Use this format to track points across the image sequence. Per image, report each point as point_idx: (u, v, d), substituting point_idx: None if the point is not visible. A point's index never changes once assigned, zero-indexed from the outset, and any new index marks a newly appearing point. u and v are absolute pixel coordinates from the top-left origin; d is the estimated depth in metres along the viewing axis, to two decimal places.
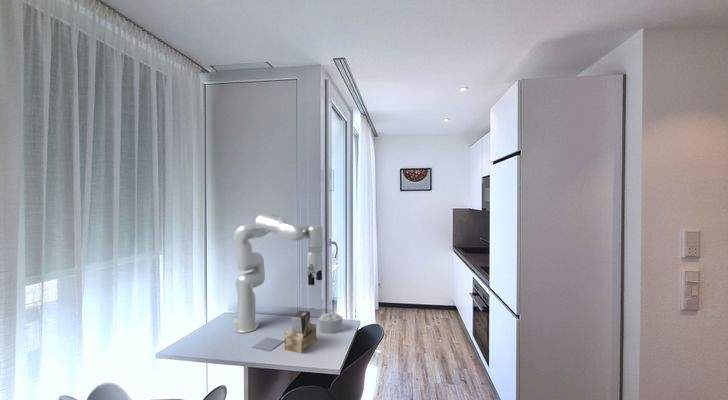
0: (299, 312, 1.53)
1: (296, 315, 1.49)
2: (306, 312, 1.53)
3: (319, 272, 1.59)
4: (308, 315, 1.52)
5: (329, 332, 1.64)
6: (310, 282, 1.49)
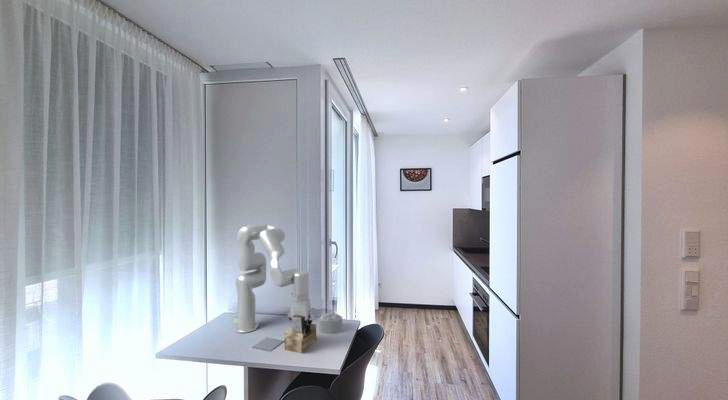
0: None
1: None
2: None
3: None
4: None
5: (329, 332, 1.64)
6: (309, 329, 1.49)
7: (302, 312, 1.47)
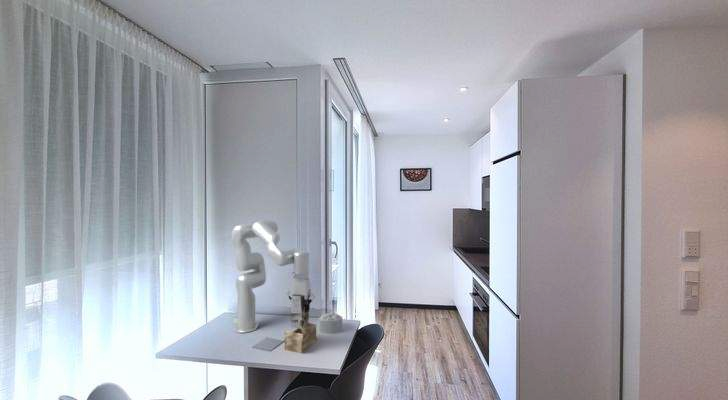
0: None
1: None
2: None
3: None
4: None
5: (329, 332, 1.64)
6: (308, 309, 1.49)
7: (302, 291, 1.47)
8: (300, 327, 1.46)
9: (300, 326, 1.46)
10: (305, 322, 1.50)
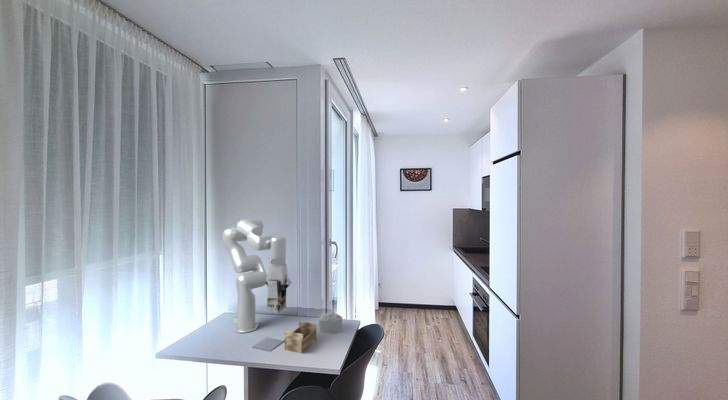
0: None
1: None
2: None
3: None
4: None
5: (329, 332, 1.64)
6: (285, 294, 1.50)
7: (278, 276, 1.48)
8: (276, 312, 1.47)
9: (276, 311, 1.47)
10: (282, 307, 1.51)
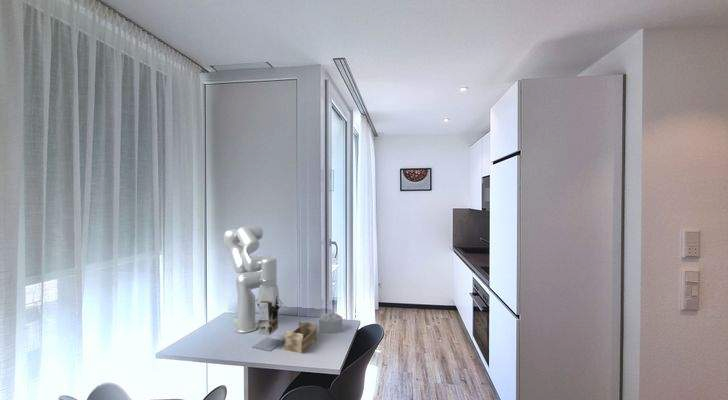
0: None
1: (263, 301, 1.49)
2: None
3: None
4: None
5: (329, 332, 1.64)
6: (276, 315, 1.50)
7: (269, 298, 1.48)
8: (268, 334, 1.46)
9: (268, 333, 1.46)
10: (274, 328, 1.51)
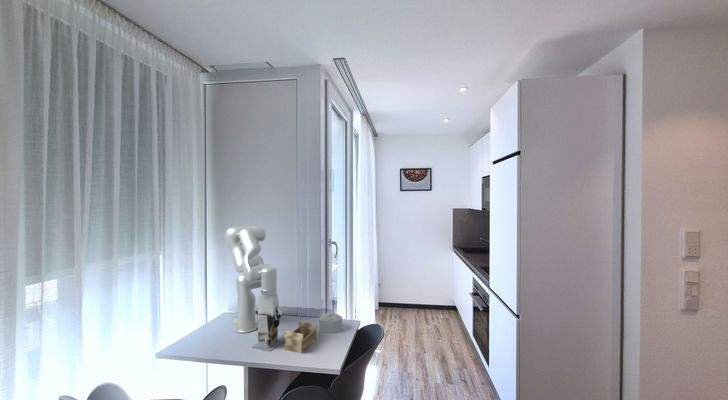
0: None
1: None
2: None
3: None
4: None
5: (329, 332, 1.64)
6: (278, 324, 1.49)
7: (269, 307, 1.48)
8: (267, 346, 1.47)
9: (267, 345, 1.47)
10: (273, 340, 1.51)
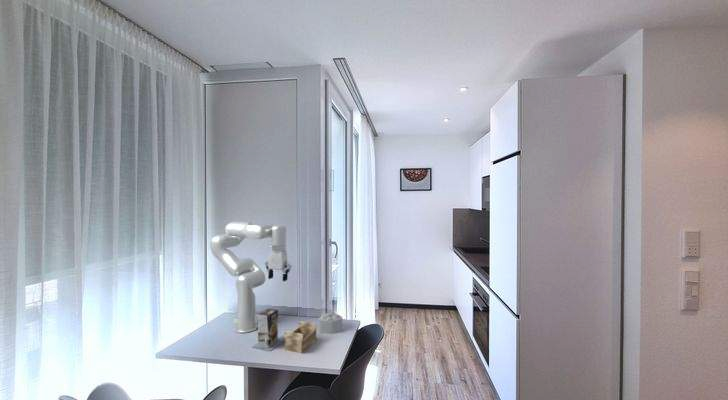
0: (267, 310, 1.54)
1: (263, 313, 1.50)
2: (274, 310, 1.54)
3: (271, 270, 1.63)
4: (276, 313, 1.53)
5: (329, 332, 1.64)
6: (286, 278, 1.59)
7: (278, 262, 1.57)
8: (267, 346, 1.47)
9: (267, 345, 1.47)
10: (273, 340, 1.51)
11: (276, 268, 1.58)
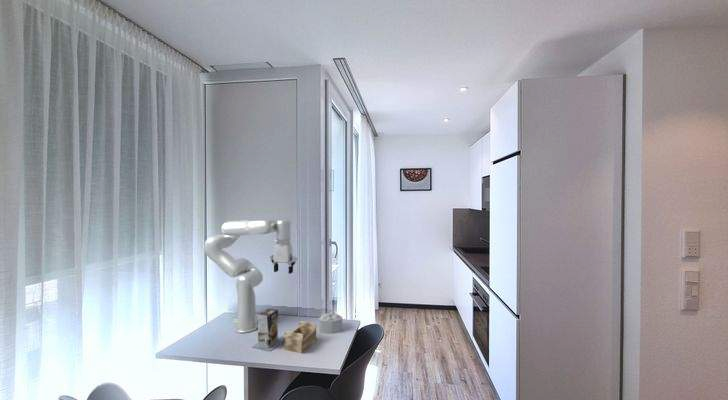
0: (267, 310, 1.54)
1: (263, 313, 1.50)
2: (274, 310, 1.54)
3: (276, 264, 1.68)
4: (276, 313, 1.53)
5: (329, 332, 1.64)
6: (292, 270, 1.64)
7: (284, 255, 1.63)
8: (267, 346, 1.47)
9: (267, 345, 1.47)
10: (273, 340, 1.51)
11: (282, 261, 1.63)
